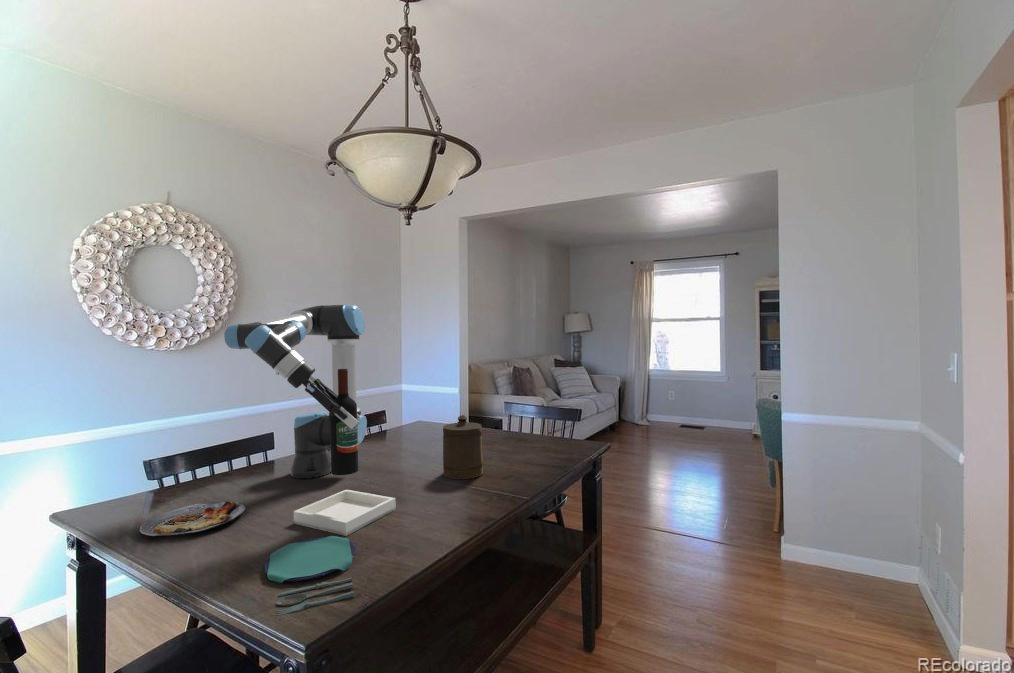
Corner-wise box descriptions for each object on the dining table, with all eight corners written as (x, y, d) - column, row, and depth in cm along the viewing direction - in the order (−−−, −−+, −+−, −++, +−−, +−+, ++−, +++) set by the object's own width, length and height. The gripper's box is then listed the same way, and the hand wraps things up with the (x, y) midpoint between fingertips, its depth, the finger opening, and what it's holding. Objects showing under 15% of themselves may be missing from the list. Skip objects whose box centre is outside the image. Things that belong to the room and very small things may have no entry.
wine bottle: (351, 466, 143) (349, 367, 143) (363, 471, 138) (361, 368, 137) (326, 471, 138) (324, 369, 138) (338, 477, 133) (335, 370, 132)
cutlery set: (352, 538, 124) (352, 529, 124) (364, 599, 96) (364, 588, 96) (267, 554, 116) (267, 545, 116) (254, 626, 88) (254, 614, 88)
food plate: (257, 504, 149) (256, 493, 149) (226, 536, 126) (225, 523, 126) (169, 513, 145) (169, 501, 145) (122, 548, 122) (121, 534, 122)
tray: (293, 523, 134) (293, 511, 133) (346, 500, 151) (346, 489, 151) (346, 535, 125) (346, 522, 125) (395, 509, 143) (395, 498, 143)
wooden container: (473, 466, 188) (472, 411, 187) (489, 476, 174) (488, 416, 174) (438, 471, 181) (437, 414, 181) (451, 482, 168) (450, 420, 167)
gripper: (293, 376, 144) (350, 425, 148) (277, 383, 124) (343, 440, 128) (311, 358, 145) (367, 407, 149) (298, 362, 125) (363, 419, 129)
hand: (356, 422), depth 139 cm, fingers closed on wine bottle, 7 cm apart
